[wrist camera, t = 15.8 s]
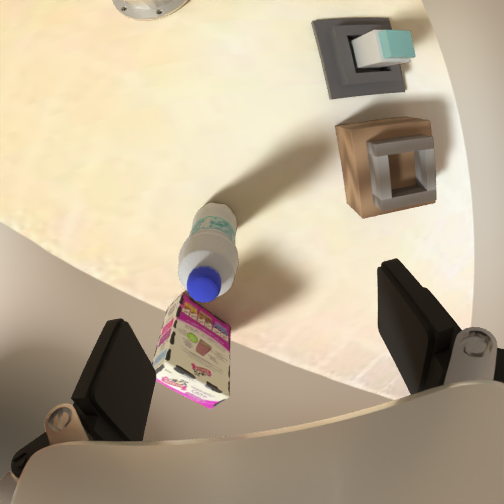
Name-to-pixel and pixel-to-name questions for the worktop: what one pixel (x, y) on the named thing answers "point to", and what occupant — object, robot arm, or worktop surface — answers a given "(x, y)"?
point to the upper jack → (387, 165)
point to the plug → (382, 49)
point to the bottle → (209, 253)
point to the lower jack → (341, 62)
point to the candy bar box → (194, 353)
